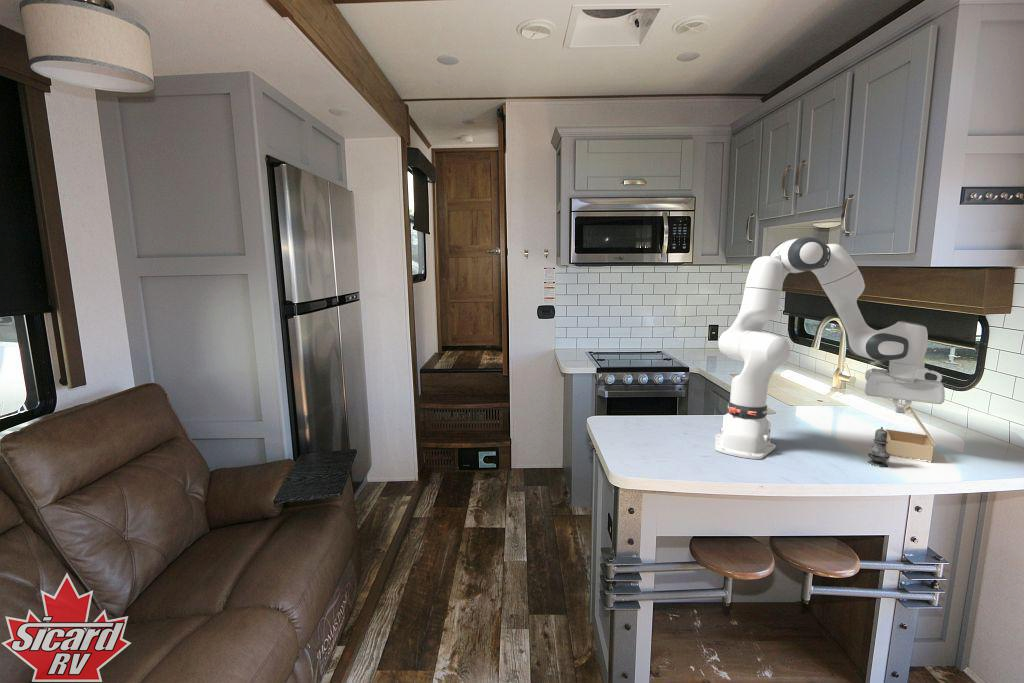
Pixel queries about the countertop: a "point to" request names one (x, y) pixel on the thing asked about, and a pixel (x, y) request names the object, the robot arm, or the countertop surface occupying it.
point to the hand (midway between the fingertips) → (900, 412)
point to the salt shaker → (879, 449)
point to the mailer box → (909, 445)
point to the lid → (919, 423)
